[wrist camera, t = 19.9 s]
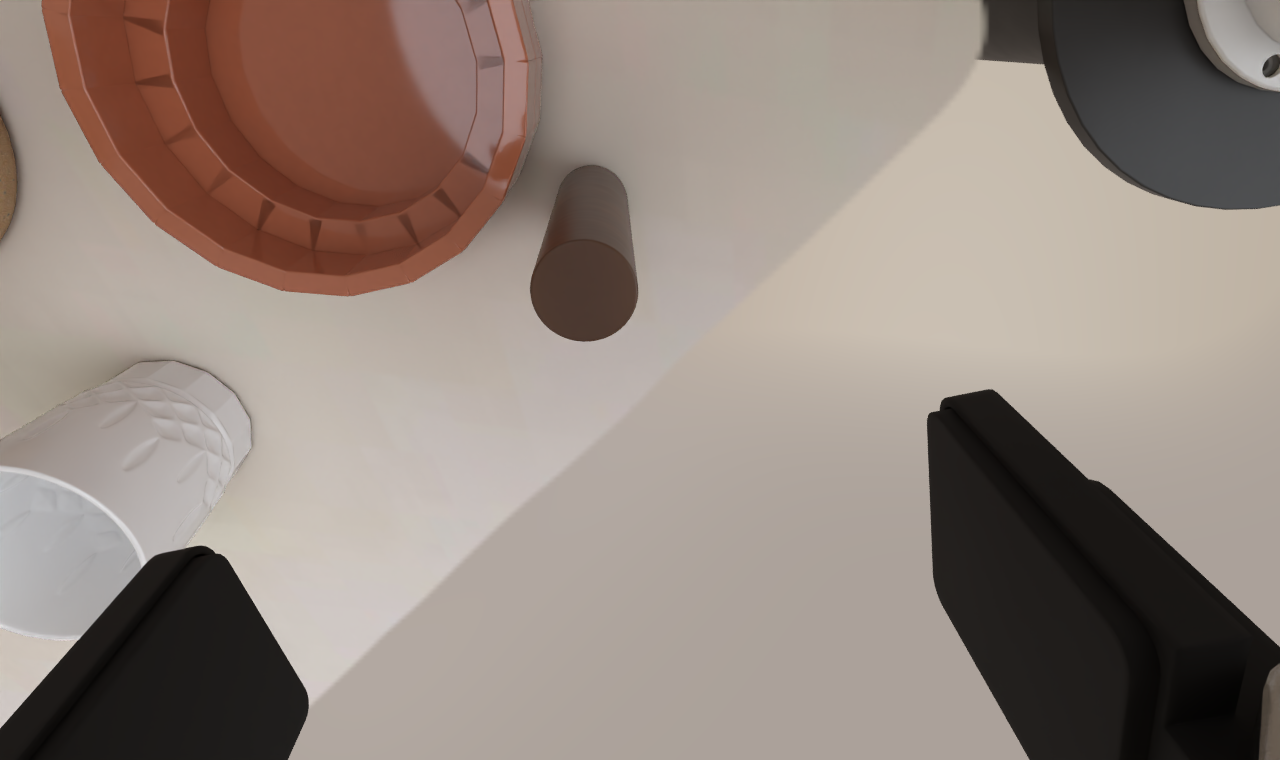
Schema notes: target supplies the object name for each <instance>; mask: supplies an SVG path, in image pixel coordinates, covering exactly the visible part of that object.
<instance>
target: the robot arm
mask: <svg viewBox="0 0 1280 760" xmlns="http://www.w3.org/2000/svg"><path fill="white" fill-rule="evenodd" d="M1184 4H1185V8H1186V13H1187V17H1188V22H1189V26H1190V28H1191V30H1192V32H1193V34H1194V36H1195V38H1196V40H1197V43H1198V45H1199V47H1200V49H1201V50H1202V52H1203V53H1204V54H1205V55H1206V56H1207V57H1208V59H1209V60H1210V61H1211V62H1212V63H1213V64H1214V66H1215V67H1216V68H1217V69H1218V70H1220V71H1221V72H1223V73H1224V74H1226V75H1227V76H1229V77H1230V78H1232V79H1233V80H1235V81H1236V82H1238V83H1241V84H1244V85H1247V86H1250V87H1253V88H1256V89H1259V90H1265V91H1274V92H1280V0H1184ZM927 434H928V460H929V485H930V509H931V533H932V534H931V535H932V559H933V578H934V583H935V588H936V591H937V594H938V597H939V599H940V601H941V604H942V606H943V608H944V609H945V611H946V613H947V614H948V616H949V618H950V620H951V622H952V624H953V625H954V627H955V629H956V630H957V632H958V634H959V636H960V638H961V639H962V641H963V643H964V644H965V646H966V648H967V650H968V652H969V654H970V655H971V657H972V659H973V661H974V662H975V664H976V666H977V668H978V669H979V671H980V673H981V675H982V676H983V678H984V680H985V681H986V683H987V685H988V687H989V689H990V691H991V692H992V694H993V696H994V698H995V699H996V701H997V703H998V705H999V706H1000V708H1001V710H1002V711H1003V713H1004V715H1005V717H1006V719H1007V721H1008V722H1009V724H1010V726H1011V728H1012V729H1013V731H1014V733H1015V735H1016V737H1017V738H1018V740H1019V742H1020V744H1021V745H1022V747H1023V749H1024V751H1025V752H1026V754H1027V756H1028V758H1029V759H1030V760H1280V647H1279V646H1278V645H1277V644H1276V643H1275V642H1274V641H1272V640H1271V639H1270V638H1269V637H1268V636H1267V635H1266V634H1265V633H1264V632H1263V631H1262V630H1261V629H1260V628H1258V627H1257V626H1256V625H1255V624H1254V623H1253V622H1252V621H1251V620H1250V619H1249V618H1248V617H1247V616H1246V615H1245V614H1244V613H1242V612H1241V611H1240V610H1239V609H1238V608H1237V607H1236V606H1235V605H1234V604H1233V603H1232V602H1231V601H1230V600H1228V599H1227V598H1226V597H1225V596H1224V595H1223V594H1222V593H1221V592H1220V591H1219V590H1218V589H1217V588H1216V587H1215V586H1213V585H1212V584H1211V583H1210V582H1209V581H1208V580H1207V579H1206V578H1205V577H1204V576H1203V575H1202V574H1201V573H1199V572H1198V571H1197V570H1196V569H1195V568H1194V567H1193V566H1192V565H1191V564H1190V563H1189V562H1188V561H1187V560H1185V559H1184V558H1183V557H1182V556H1181V555H1180V554H1179V553H1178V552H1177V551H1176V550H1175V549H1174V548H1173V547H1172V546H1170V545H1169V544H1168V543H1167V542H1166V541H1165V540H1164V539H1163V538H1162V537H1161V536H1160V535H1159V534H1158V533H1156V532H1155V531H1154V530H1153V529H1152V528H1151V527H1150V526H1149V525H1148V524H1147V523H1146V522H1144V521H1143V520H1142V519H1141V518H1140V517H1139V516H1138V515H1137V514H1136V513H1135V512H1134V511H1132V510H1131V508H1129V507H1128V506H1127V505H1126V504H1125V503H1124V502H1123V501H1122V500H1121V499H1120V498H1119V497H1118V496H1117V495H1116V494H1114V493H1113V492H1112V491H1111V490H1110V489H1109V488H1107V487H1106V486H1105V485H1103V484H1102V483H1100V482H1098V481H1094V480H1088V479H1087V478H1086V477H1085V476H1084V475H1083V474H1082V473H1081V472H1080V471H1079V470H1078V469H1077V468H1076V467H1075V466H1074V465H1073V464H1072V463H1071V462H1069V461H1068V460H1067V459H1066V458H1065V457H1064V456H1063V455H1062V454H1061V453H1060V452H1059V451H1058V450H1057V449H1056V448H1055V447H1054V446H1053V445H1052V444H1050V442H1048V441H1047V440H1046V439H1045V438H1044V437H1043V436H1042V435H1041V434H1040V433H1039V432H1038V431H1037V430H1036V429H1035V428H1034V427H1033V426H1032V425H1031V424H1030V423H1029V422H1028V421H1027V420H1025V419H1024V418H1023V417H1022V416H1021V415H1020V414H1019V413H1018V412H1017V411H1016V410H1015V409H1014V408H1013V407H1012V406H1011V405H1010V404H1009V403H1008V402H1007V401H1005V400H1004V399H1003V398H1002V397H1001V396H1000V395H999V394H998V393H997V392H995V391H994V390H989V389H988V390H983V391H978V392H972V393H967V394H962V395H957V396H952V397H947V398H944V399H943V400H942V402H941V405H940V411H936V412H931V413H930V414H929V415H928V418H927ZM308 708H309V700H308V695H307V692H306V689H305V687H304V686H303V684H302V682H301V681H300V679H299V677H298V676H297V674H296V672H295V671H294V669H293V667H292V666H291V664H290V662H289V661H288V659H287V657H286V656H285V654H284V652H283V651H282V649H281V648H280V646H279V644H278V643H277V641H276V639H275V638H274V636H273V634H272V633H271V631H270V629H269V628H268V626H267V624H266V623H265V621H264V619H263V618H262V616H261V614H260V613H259V611H258V609H257V608H256V606H255V604H254V603H253V601H252V599H251V598H250V596H249V594H248V593H247V591H246V589H245V588H244V586H243V585H242V583H241V581H240V580H239V578H238V576H237V575H236V573H235V571H234V570H233V568H232V566H231V565H230V563H229V561H228V560H227V559H226V558H225V557H224V556H222V555H221V554H215V552H214V551H213V550H211V549H210V548H208V547H206V546H195V547H190V548H185V549H180V550H175V551H170V552H165V553H161V554H158V555H155V556H153V557H152V558H151V559H150V560H149V561H148V562H147V563H146V564H145V565H144V566H143V567H142V568H141V570H140V571H139V572H138V573H137V574H136V575H135V576H134V577H133V579H132V580H131V581H130V582H129V583H128V584H127V585H126V587H125V588H124V589H123V590H122V591H121V592H120V593H119V594H118V596H117V597H116V598H115V599H114V600H113V601H112V602H111V604H110V605H109V606H108V607H107V608H106V609H105V610H104V612H103V613H102V614H101V615H100V616H99V617H98V618H97V619H96V621H95V622H94V623H93V624H92V625H91V626H90V627H89V629H88V630H87V631H86V632H85V633H84V634H83V635H82V636H81V638H80V639H79V640H78V641H77V642H76V643H75V644H74V646H73V647H72V648H71V649H70V650H69V651H68V652H67V653H66V655H65V656H64V657H63V658H62V659H61V660H60V661H59V663H58V664H57V665H56V666H55V667H54V668H53V669H52V671H51V672H50V673H49V674H48V675H47V676H46V677H45V678H44V680H43V681H42V682H41V683H40V684H39V685H38V686H37V688H36V689H35V690H34V691H33V692H32V693H31V694H30V695H29V697H28V698H27V699H26V700H25V701H24V702H23V703H22V705H21V706H20V707H19V708H18V709H17V710H16V711H15V712H14V714H13V715H12V716H11V717H10V718H9V719H8V720H7V722H6V723H5V724H4V725H3V726H2V727H1V728H0V760H288V758H289V756H290V754H291V751H292V749H293V747H294V745H295V742H296V740H297V738H298V736H299V734H300V731H301V729H302V727H303V725H304V722H305V720H306V717H307V714H308Z"/></svg>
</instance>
